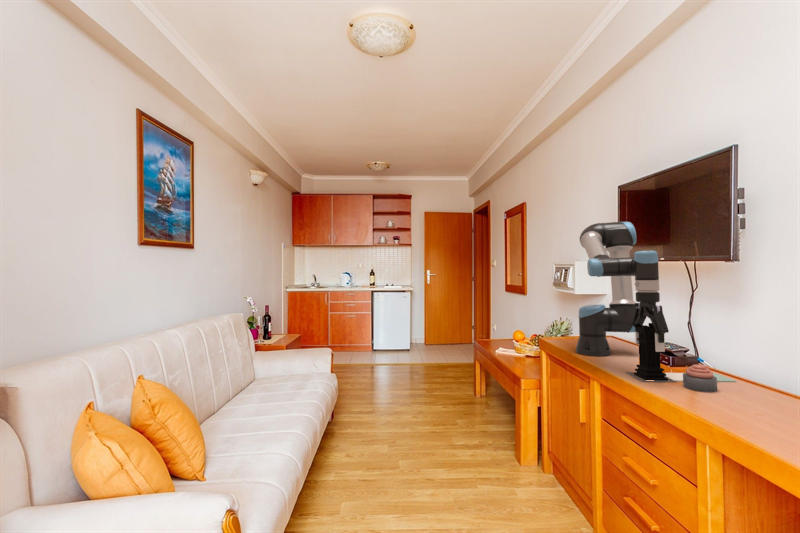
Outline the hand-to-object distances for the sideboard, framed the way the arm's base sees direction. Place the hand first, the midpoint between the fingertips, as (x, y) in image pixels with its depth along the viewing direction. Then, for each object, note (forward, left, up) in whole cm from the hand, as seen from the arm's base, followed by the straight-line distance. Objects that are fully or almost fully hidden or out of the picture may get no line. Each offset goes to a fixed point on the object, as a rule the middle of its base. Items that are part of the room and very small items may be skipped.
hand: (649, 347), depth 138 cm
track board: (0, +11, -11) cm, 15 cm away
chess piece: (0, 0, -11) cm, 11 cm away
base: (+12, +10, -11) cm, 19 cm away
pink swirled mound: (+12, +10, -7) cm, 17 cm away
